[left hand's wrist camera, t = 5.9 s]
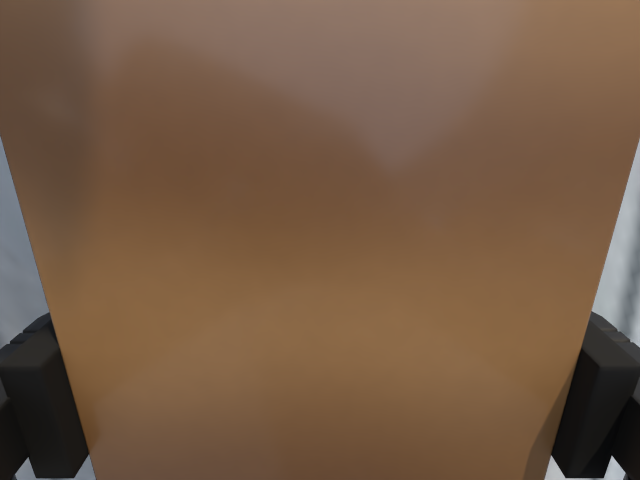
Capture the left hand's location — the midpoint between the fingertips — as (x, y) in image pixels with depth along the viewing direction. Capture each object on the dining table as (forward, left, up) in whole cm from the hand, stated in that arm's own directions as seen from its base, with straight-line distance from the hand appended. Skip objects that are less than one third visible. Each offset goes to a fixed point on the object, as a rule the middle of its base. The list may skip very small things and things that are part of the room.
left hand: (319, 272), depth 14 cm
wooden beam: (-3, +29, 0) cm, 29 cm away
